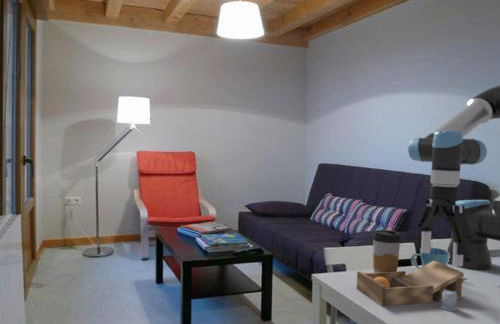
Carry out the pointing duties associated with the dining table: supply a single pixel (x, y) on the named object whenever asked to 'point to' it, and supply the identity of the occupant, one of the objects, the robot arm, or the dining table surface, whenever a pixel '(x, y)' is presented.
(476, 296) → the dining table surface
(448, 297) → the tee
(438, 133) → the robot arm
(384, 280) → the ball
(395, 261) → the coffee cup
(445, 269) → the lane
